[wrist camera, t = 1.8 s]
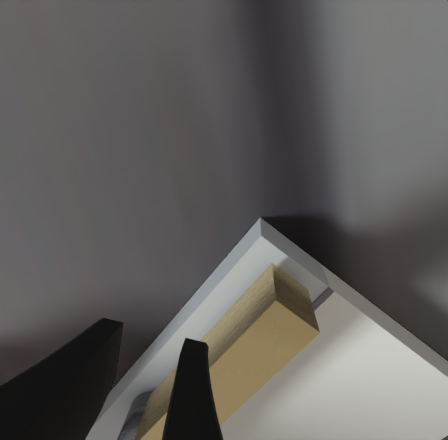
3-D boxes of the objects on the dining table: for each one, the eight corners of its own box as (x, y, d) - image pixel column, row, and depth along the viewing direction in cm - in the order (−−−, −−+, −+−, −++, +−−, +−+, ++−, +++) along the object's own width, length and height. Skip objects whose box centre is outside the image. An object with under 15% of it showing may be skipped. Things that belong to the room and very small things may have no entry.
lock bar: (163, 441, 19) (145, 505, 16) (120, 414, 19) (93, 474, 16) (314, 292, 15) (328, 339, 12) (264, 255, 15) (267, 293, 12)
